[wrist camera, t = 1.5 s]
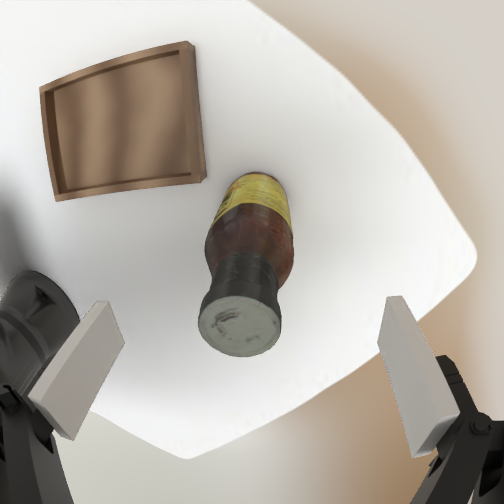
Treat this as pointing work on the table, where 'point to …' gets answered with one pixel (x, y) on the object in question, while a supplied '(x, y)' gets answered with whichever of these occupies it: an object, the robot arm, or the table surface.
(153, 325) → the table surface
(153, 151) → the tray
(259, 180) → the sauce bottle
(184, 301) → the table surface
